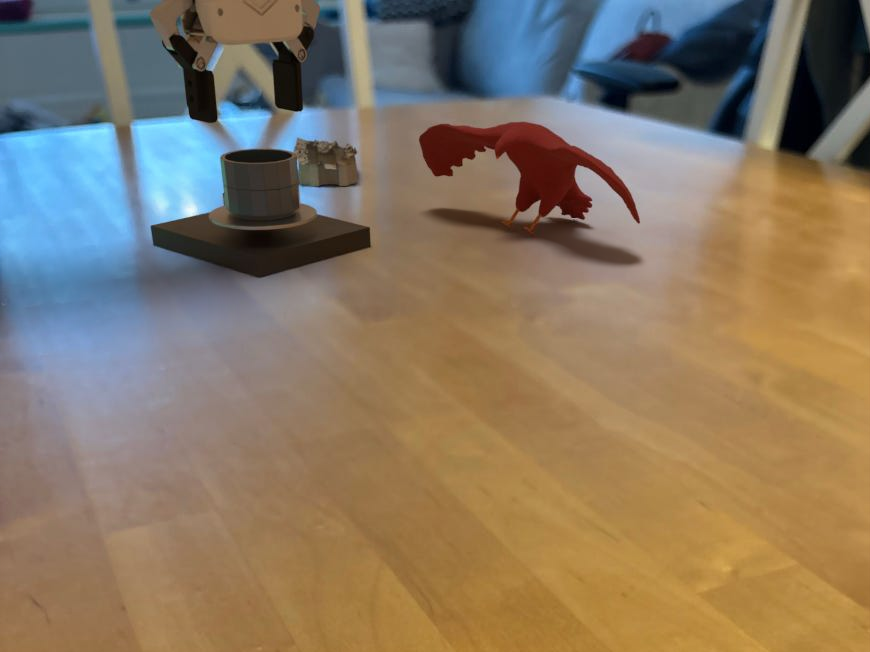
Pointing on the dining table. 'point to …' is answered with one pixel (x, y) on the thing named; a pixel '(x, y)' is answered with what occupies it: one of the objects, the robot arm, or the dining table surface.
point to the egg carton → (325, 163)
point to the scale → (261, 243)
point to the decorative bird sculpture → (524, 164)
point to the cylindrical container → (260, 183)
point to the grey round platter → (229, 221)
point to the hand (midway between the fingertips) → (247, 114)
